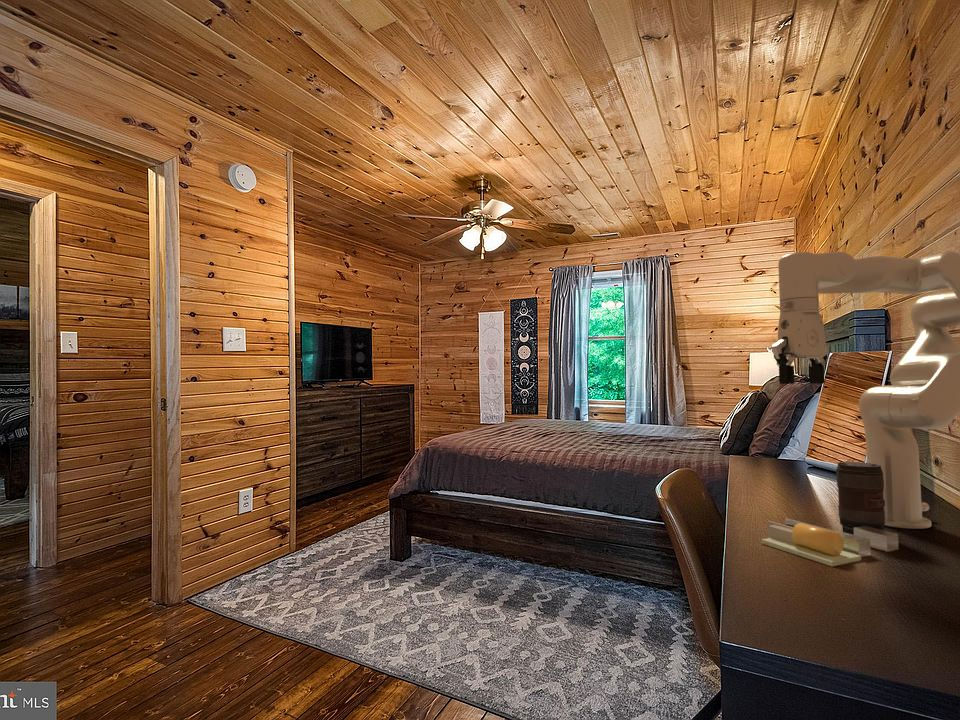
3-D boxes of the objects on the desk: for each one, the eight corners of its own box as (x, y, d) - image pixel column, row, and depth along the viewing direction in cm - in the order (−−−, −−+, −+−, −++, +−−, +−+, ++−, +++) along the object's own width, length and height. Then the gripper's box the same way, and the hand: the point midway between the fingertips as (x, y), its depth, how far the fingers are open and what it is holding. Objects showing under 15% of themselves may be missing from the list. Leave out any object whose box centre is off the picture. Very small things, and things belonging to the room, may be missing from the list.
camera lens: (879, 531, 109) (876, 462, 110) (891, 542, 102) (888, 467, 103) (835, 527, 113) (832, 460, 113) (843, 537, 105) (840, 465, 106)
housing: (795, 522, 117) (795, 509, 117) (898, 549, 97) (897, 533, 98) (758, 527, 112) (758, 514, 113) (858, 557, 93) (858, 541, 93)
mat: (789, 538, 105) (788, 534, 105) (861, 560, 92) (861, 555, 92) (761, 543, 102) (761, 539, 102) (832, 566, 89) (831, 561, 89)
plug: (779, 534, 105) (778, 514, 105) (844, 554, 92) (843, 531, 93) (764, 537, 103) (763, 516, 103) (829, 557, 91) (828, 534, 91)
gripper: (788, 303, 107) (791, 384, 106) (841, 307, 113) (844, 383, 112) (757, 308, 114) (759, 384, 113) (809, 312, 120) (811, 383, 119)
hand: (802, 383), depth 113 cm, fingers open, 9 cm apart
